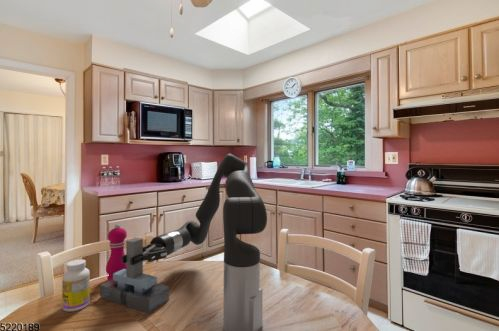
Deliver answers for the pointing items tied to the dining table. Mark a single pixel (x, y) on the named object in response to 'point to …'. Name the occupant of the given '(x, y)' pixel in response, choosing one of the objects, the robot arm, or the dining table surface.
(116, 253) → the pepper mill
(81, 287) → the supplement bottle
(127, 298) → the dark grey rectangular block
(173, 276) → the dining table surface
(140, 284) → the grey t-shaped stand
